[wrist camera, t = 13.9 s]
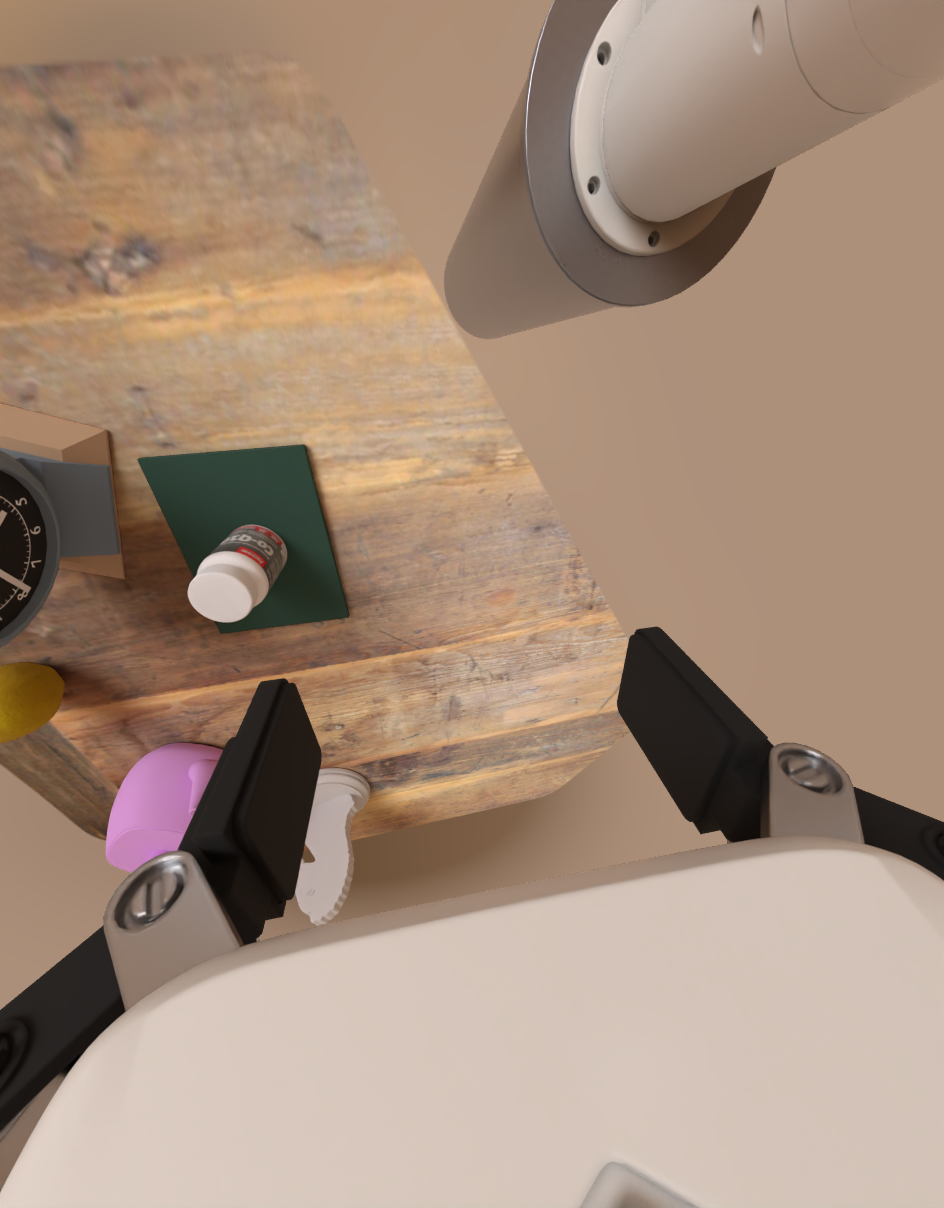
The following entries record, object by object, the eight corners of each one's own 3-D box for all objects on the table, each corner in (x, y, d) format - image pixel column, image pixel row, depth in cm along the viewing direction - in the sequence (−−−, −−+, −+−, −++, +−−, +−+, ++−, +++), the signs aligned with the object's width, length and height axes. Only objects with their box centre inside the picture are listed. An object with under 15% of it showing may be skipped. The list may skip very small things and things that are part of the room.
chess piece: (277, 784, 50) (235, 925, 38) (347, 757, 50) (329, 892, 37) (318, 821, 56) (294, 956, 43) (382, 798, 55) (377, 927, 42)
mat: (140, 457, 30) (136, 459, 29) (305, 444, 31) (303, 445, 30) (222, 630, 38) (220, 634, 38) (349, 615, 39) (348, 617, 39)
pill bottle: (289, 529, 34) (259, 574, 26) (286, 578, 36) (258, 631, 29) (227, 517, 32) (178, 560, 25) (228, 568, 35) (183, 621, 27)
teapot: (298, 738, 47) (273, 832, 37) (226, 827, 53) (189, 926, 44) (176, 695, 41) (109, 794, 32) (112, 801, 48) (41, 909, 38)
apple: (98, 674, 38) (34, 740, 32) (56, 706, 40) (-15, 776, 33) (26, 632, 35) (-63, 696, 28) (-19, 668, 36) (-114, 738, 30)
